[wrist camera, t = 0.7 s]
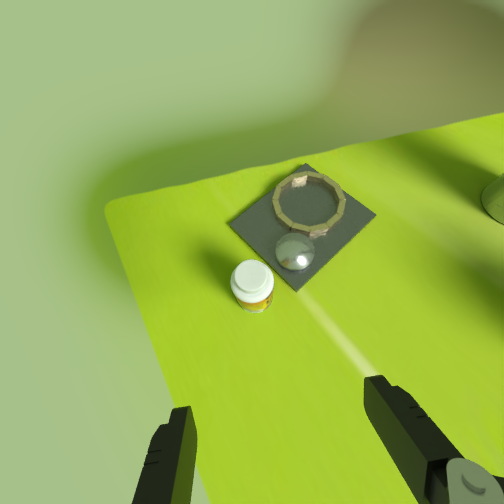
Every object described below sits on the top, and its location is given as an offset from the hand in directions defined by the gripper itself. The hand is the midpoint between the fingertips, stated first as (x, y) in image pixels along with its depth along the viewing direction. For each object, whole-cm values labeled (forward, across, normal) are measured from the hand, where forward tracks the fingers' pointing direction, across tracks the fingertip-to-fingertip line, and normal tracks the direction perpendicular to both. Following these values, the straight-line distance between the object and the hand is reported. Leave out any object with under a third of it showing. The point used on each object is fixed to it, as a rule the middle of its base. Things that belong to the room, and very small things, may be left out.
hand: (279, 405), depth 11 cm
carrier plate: (+33, -10, -2) cm, 35 cm away
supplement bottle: (+26, -1, +8) cm, 27 cm away
